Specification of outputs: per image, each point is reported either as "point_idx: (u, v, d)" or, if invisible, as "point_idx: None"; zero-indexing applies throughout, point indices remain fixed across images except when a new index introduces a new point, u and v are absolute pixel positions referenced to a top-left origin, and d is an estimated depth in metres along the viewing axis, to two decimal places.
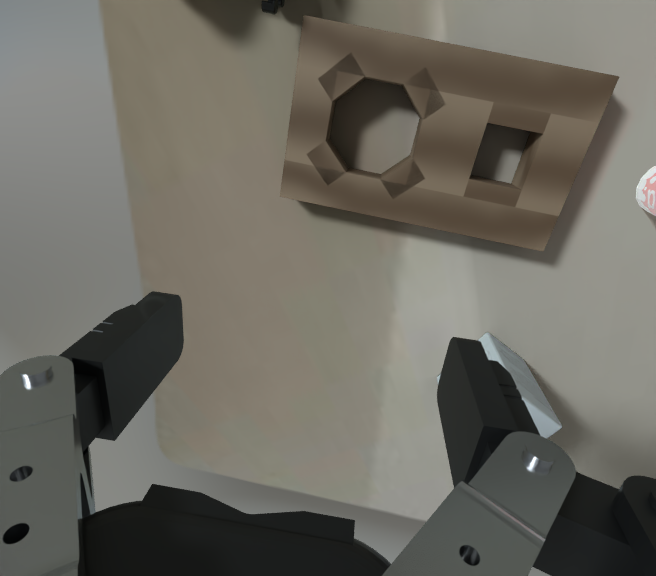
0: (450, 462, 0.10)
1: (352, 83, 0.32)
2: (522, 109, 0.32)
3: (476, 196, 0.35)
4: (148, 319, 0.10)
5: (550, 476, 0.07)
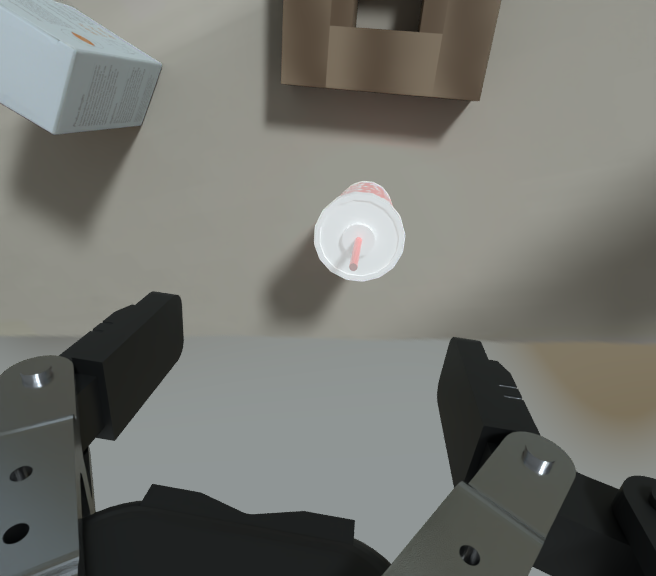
0: (450, 462, 0.10)
1: None
2: None
3: None
4: (148, 319, 0.10)
5: (550, 476, 0.07)
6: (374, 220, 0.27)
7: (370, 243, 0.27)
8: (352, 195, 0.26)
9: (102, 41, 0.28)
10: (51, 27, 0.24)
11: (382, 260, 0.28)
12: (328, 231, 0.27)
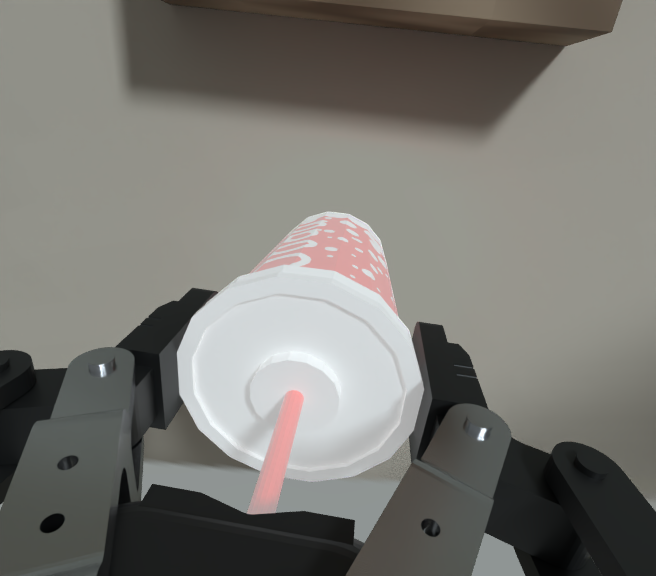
0: (410, 438, 0.10)
1: None
2: None
3: None
4: (193, 314, 0.11)
5: (486, 441, 0.07)
6: (339, 346, 0.09)
7: (328, 406, 0.10)
8: (272, 281, 0.09)
9: None
10: None
11: (360, 440, 0.10)
12: (214, 366, 0.10)
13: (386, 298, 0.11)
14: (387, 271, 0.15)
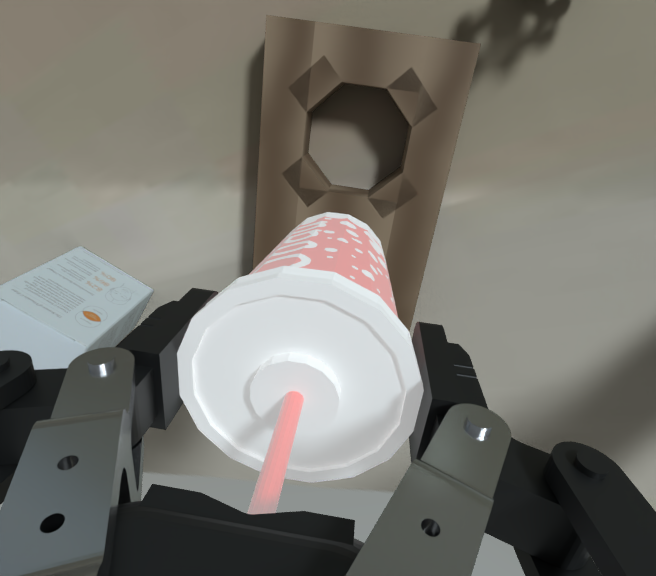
0: (410, 438, 0.10)
1: (405, 112, 0.28)
2: None
3: None
4: (194, 314, 0.11)
5: (486, 441, 0.07)
6: (339, 347, 0.09)
7: (327, 407, 0.10)
8: (272, 282, 0.09)
9: (106, 300, 0.35)
10: (68, 320, 0.31)
11: (360, 441, 0.11)
12: (214, 367, 0.10)
13: (386, 299, 0.11)
14: (387, 272, 0.15)
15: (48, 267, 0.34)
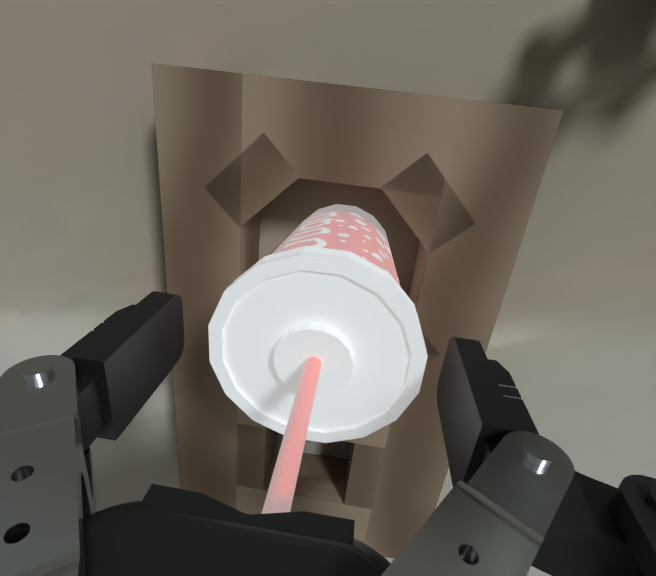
0: (449, 461, 0.10)
1: (416, 229, 0.15)
2: (375, 480, 0.21)
3: (241, 439, 0.21)
4: (149, 319, 0.10)
5: (549, 475, 0.07)
6: (353, 317, 0.11)
7: (342, 371, 0.11)
8: (296, 258, 0.10)
9: None
10: None
11: (370, 403, 0.12)
12: (242, 336, 0.11)
13: (393, 278, 0.12)
14: None
15: None
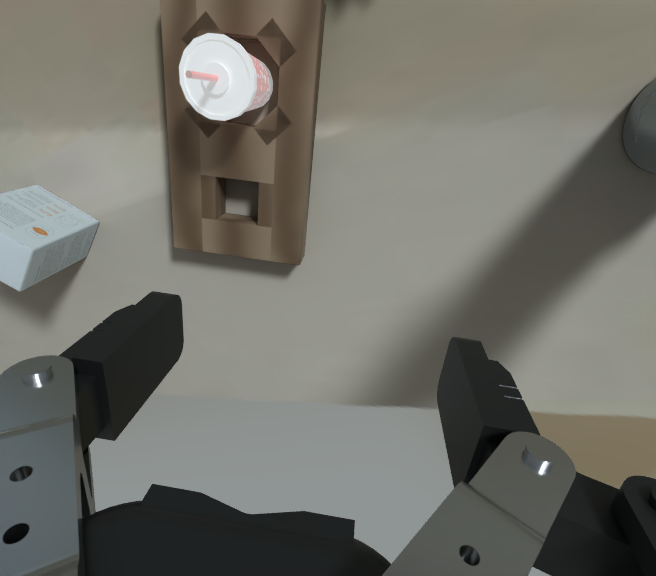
0: (450, 462, 0.10)
1: (272, 55, 0.36)
2: (271, 206, 0.41)
3: (203, 185, 0.41)
4: (148, 319, 0.10)
5: (550, 476, 0.07)
6: (228, 59, 0.31)
7: (225, 80, 0.31)
8: (207, 34, 0.30)
9: (54, 223, 0.43)
10: (19, 231, 0.39)
11: (238, 99, 0.32)
12: (191, 71, 0.32)
13: None
14: (264, 71, 0.36)
15: (7, 195, 0.42)
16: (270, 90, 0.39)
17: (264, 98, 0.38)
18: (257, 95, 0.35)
